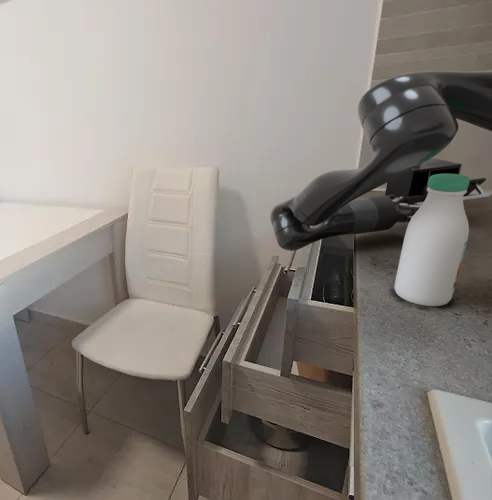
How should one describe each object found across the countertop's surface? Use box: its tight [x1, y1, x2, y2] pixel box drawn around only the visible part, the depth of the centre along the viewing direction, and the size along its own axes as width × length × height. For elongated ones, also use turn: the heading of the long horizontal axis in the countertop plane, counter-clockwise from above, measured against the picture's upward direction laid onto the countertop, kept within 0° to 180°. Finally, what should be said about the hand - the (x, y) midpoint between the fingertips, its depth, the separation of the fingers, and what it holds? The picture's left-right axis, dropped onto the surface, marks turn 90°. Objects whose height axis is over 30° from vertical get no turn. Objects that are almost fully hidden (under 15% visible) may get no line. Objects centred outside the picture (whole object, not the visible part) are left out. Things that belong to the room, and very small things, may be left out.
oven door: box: [414, 177, 491, 212], centre depth 84 cm, size 4×17×10 cm
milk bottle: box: [393, 173, 471, 307], centre depth 57 cm, size 8×8×20 cm
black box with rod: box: [384, 157, 463, 197], centre depth 92 cm, size 8×12×13 cm
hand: (435, 205), depth 80 cm, fingers open, 8 cm apart
